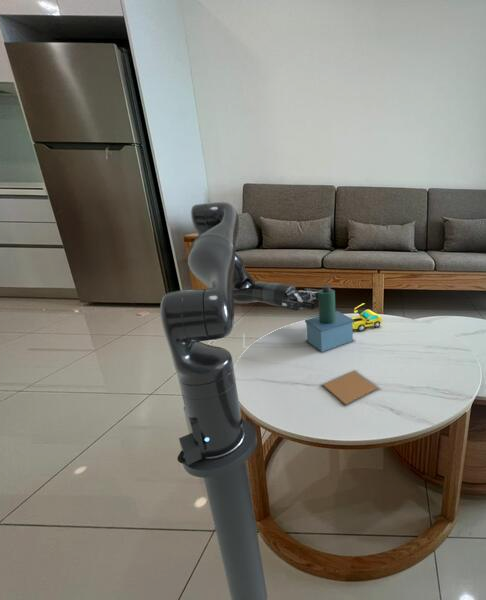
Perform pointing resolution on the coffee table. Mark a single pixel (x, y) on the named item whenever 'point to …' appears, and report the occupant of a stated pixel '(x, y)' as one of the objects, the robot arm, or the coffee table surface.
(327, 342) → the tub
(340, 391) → the mat
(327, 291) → the bottle
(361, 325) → the toy car
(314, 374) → the coffee table surface
